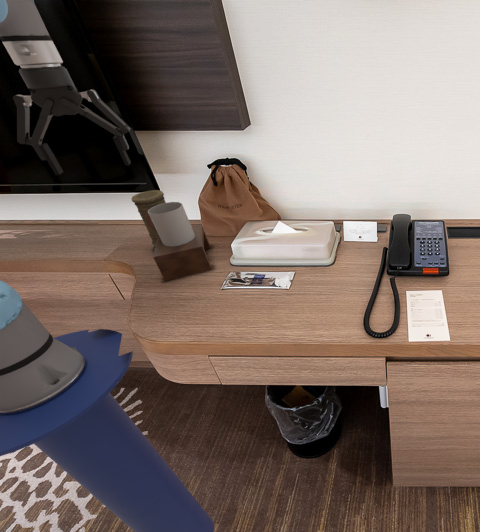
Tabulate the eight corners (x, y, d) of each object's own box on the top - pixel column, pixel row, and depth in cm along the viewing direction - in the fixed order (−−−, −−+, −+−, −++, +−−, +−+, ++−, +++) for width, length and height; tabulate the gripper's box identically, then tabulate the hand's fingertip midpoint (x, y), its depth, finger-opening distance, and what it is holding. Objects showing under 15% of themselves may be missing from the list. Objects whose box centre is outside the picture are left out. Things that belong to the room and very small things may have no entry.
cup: (195, 241, 99) (182, 209, 94) (163, 249, 96) (147, 216, 90) (194, 230, 105) (181, 199, 100) (163, 237, 102) (148, 206, 97)
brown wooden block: (165, 281, 97) (153, 257, 92) (169, 255, 109) (158, 233, 105) (211, 269, 101) (201, 246, 97) (210, 246, 113) (201, 224, 109)
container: (148, 250, 112) (122, 198, 102) (171, 237, 119) (148, 188, 109) (169, 254, 109) (144, 201, 100) (191, 241, 117) (170, 190, 107)
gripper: (-52, 71, 63) (21, 182, 75) (109, 63, 72) (153, 164, 84) (-31, 69, 69) (34, 173, 81) (116, 62, 78) (156, 157, 89)
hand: (95, 168), depth 82 cm, fingers open, 13 cm apart
